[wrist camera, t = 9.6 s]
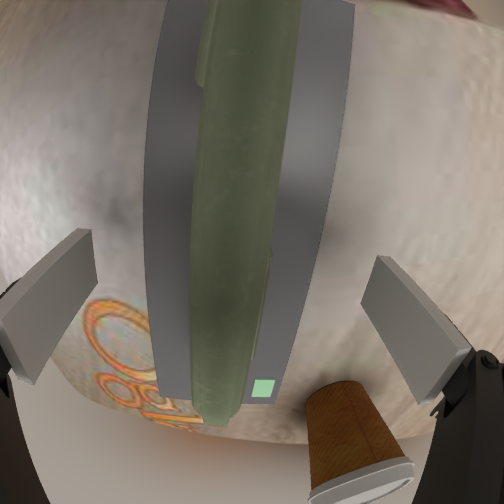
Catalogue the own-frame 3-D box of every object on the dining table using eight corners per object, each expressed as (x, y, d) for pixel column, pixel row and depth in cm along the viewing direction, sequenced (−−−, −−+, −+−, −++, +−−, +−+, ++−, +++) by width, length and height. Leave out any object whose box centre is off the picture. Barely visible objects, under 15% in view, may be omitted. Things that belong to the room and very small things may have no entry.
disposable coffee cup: (341, 424, 28) (366, 507, 17) (273, 417, 26) (287, 519, 15) (394, 375, 25) (438, 466, 14) (325, 361, 22) (366, 485, 12)
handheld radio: (290, 22, 11) (238, 387, 21) (226, 15, 10) (197, 383, 21) (321, -41, 5) (238, 459, 15) (214, -53, 4) (188, 454, 15)
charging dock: (204, -87, 7) (202, -99, 5) (347, -66, 8) (355, -76, 6) (162, 384, 22) (159, 397, 21) (272, 391, 24) (274, 405, 22)
